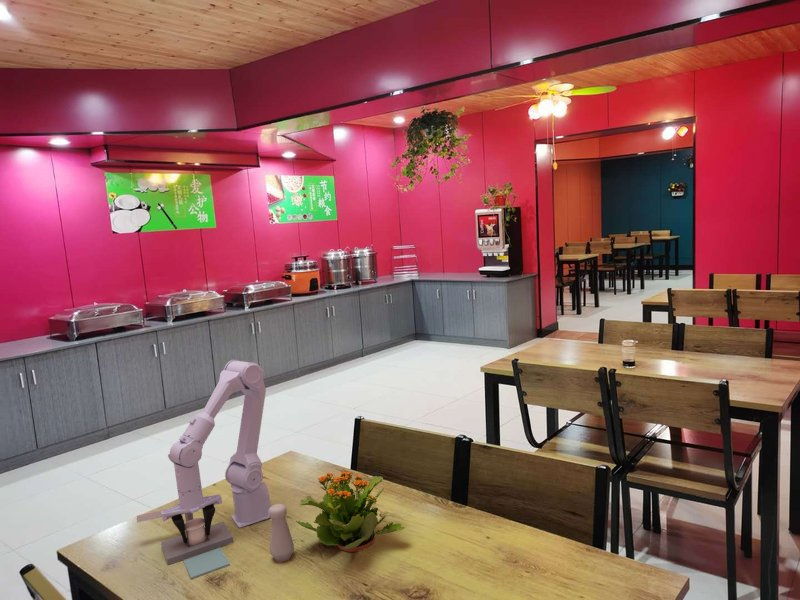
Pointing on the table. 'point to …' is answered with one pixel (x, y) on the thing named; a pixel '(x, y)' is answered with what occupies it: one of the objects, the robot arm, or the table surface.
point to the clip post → (188, 516)
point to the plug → (195, 531)
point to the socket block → (179, 550)
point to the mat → (206, 563)
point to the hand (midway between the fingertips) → (196, 537)
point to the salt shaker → (280, 534)
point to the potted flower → (347, 513)
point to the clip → (149, 516)
